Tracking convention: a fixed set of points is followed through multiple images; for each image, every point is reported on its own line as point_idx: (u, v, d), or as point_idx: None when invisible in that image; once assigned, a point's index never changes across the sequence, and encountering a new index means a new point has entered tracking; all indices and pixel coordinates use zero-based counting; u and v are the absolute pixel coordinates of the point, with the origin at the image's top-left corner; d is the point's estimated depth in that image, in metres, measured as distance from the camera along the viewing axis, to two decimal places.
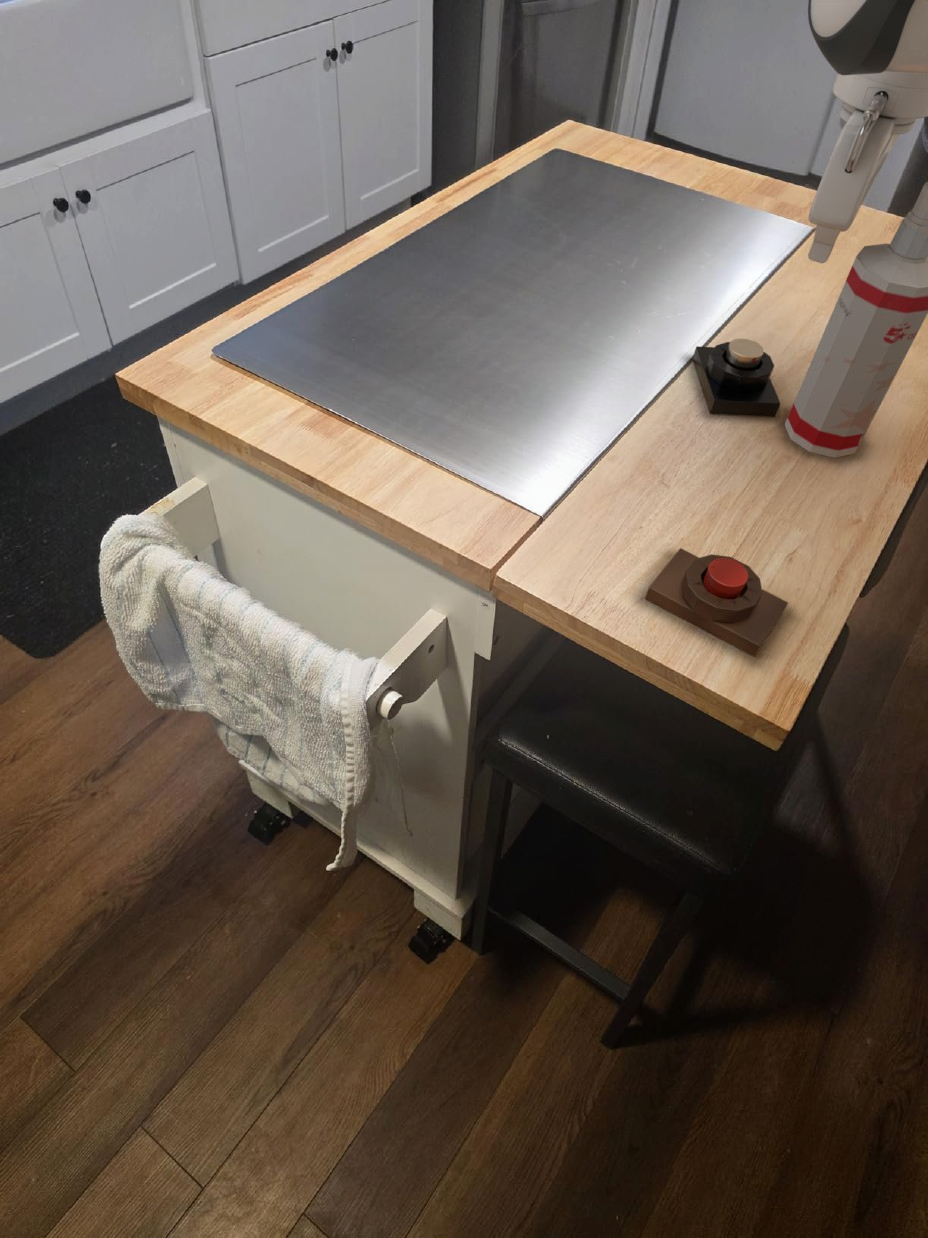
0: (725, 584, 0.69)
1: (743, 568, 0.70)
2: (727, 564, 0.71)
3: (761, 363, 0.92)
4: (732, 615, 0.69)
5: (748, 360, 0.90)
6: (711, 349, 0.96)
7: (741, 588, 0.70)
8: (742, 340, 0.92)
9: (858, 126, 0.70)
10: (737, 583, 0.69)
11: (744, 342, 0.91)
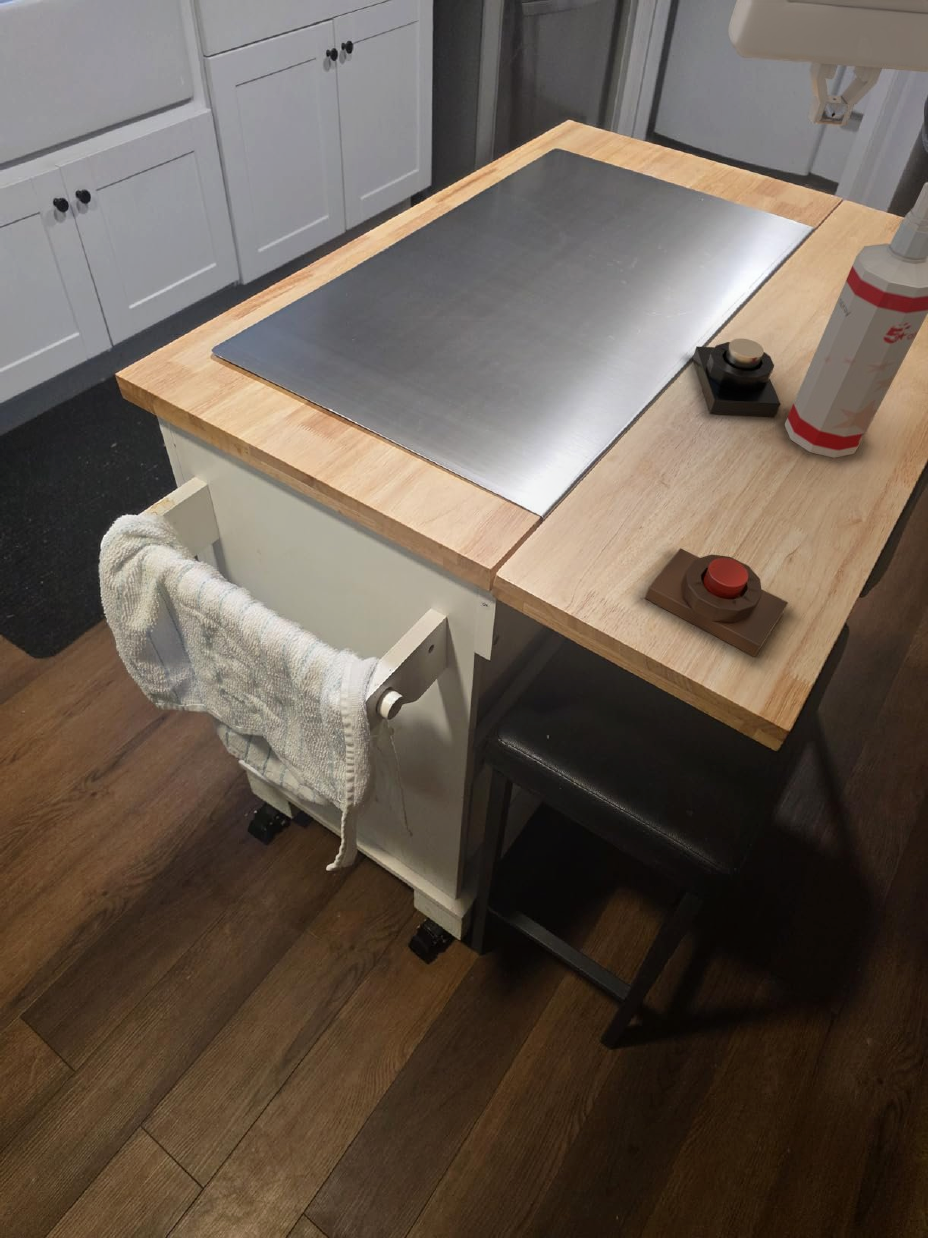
0: (725, 584, 0.69)
1: (743, 568, 0.70)
2: (727, 564, 0.71)
3: (761, 363, 0.92)
4: (732, 615, 0.69)
5: (748, 360, 0.90)
6: (711, 349, 0.96)
7: (741, 588, 0.70)
8: (742, 340, 0.92)
9: None
10: (737, 583, 0.69)
11: (744, 342, 0.91)
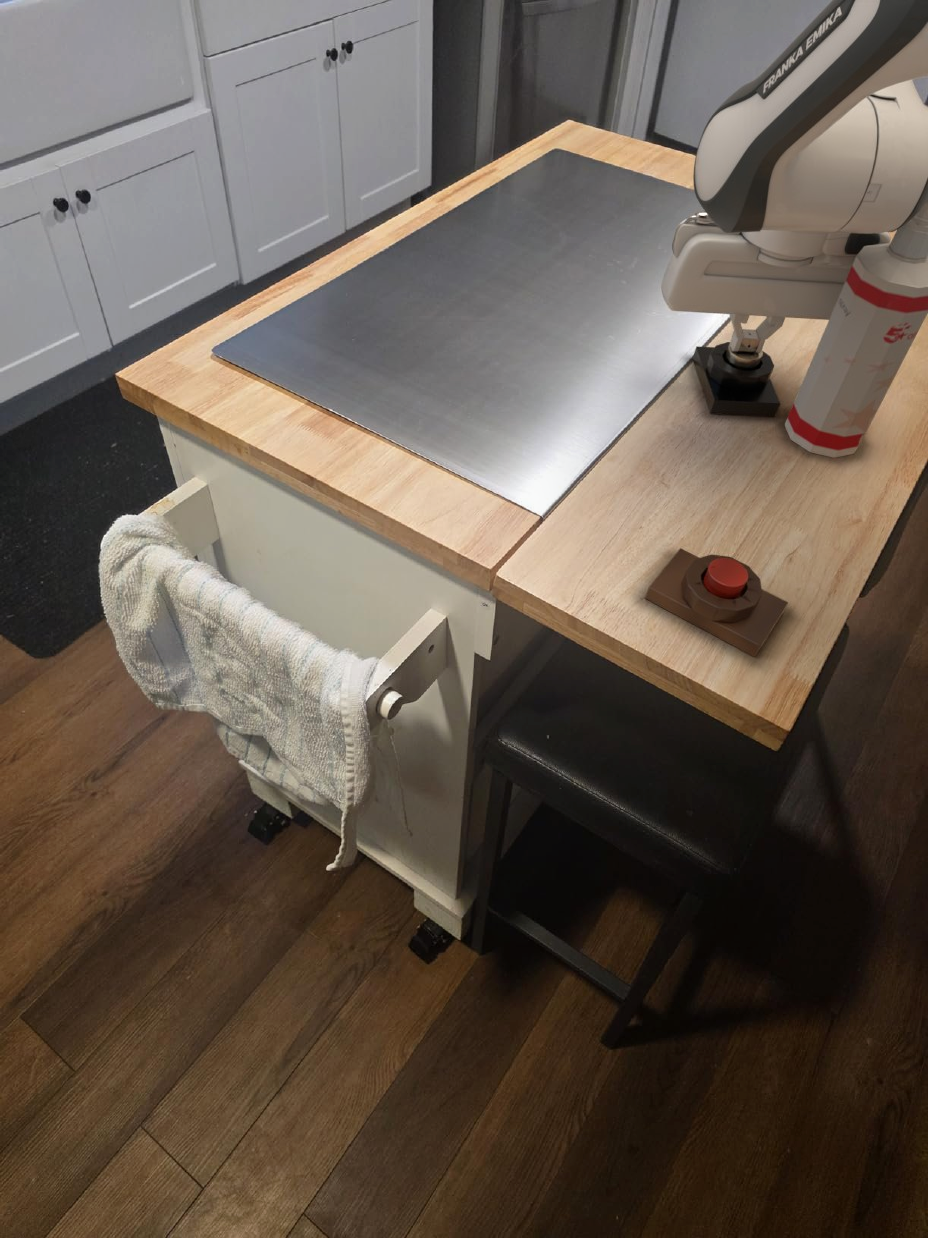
0: (725, 584, 0.69)
1: (743, 568, 0.70)
2: (727, 564, 0.71)
3: (761, 363, 0.92)
4: (732, 615, 0.69)
5: (748, 362, 0.90)
6: (711, 349, 0.96)
7: (741, 588, 0.70)
8: None
9: None
10: (737, 583, 0.69)
11: None
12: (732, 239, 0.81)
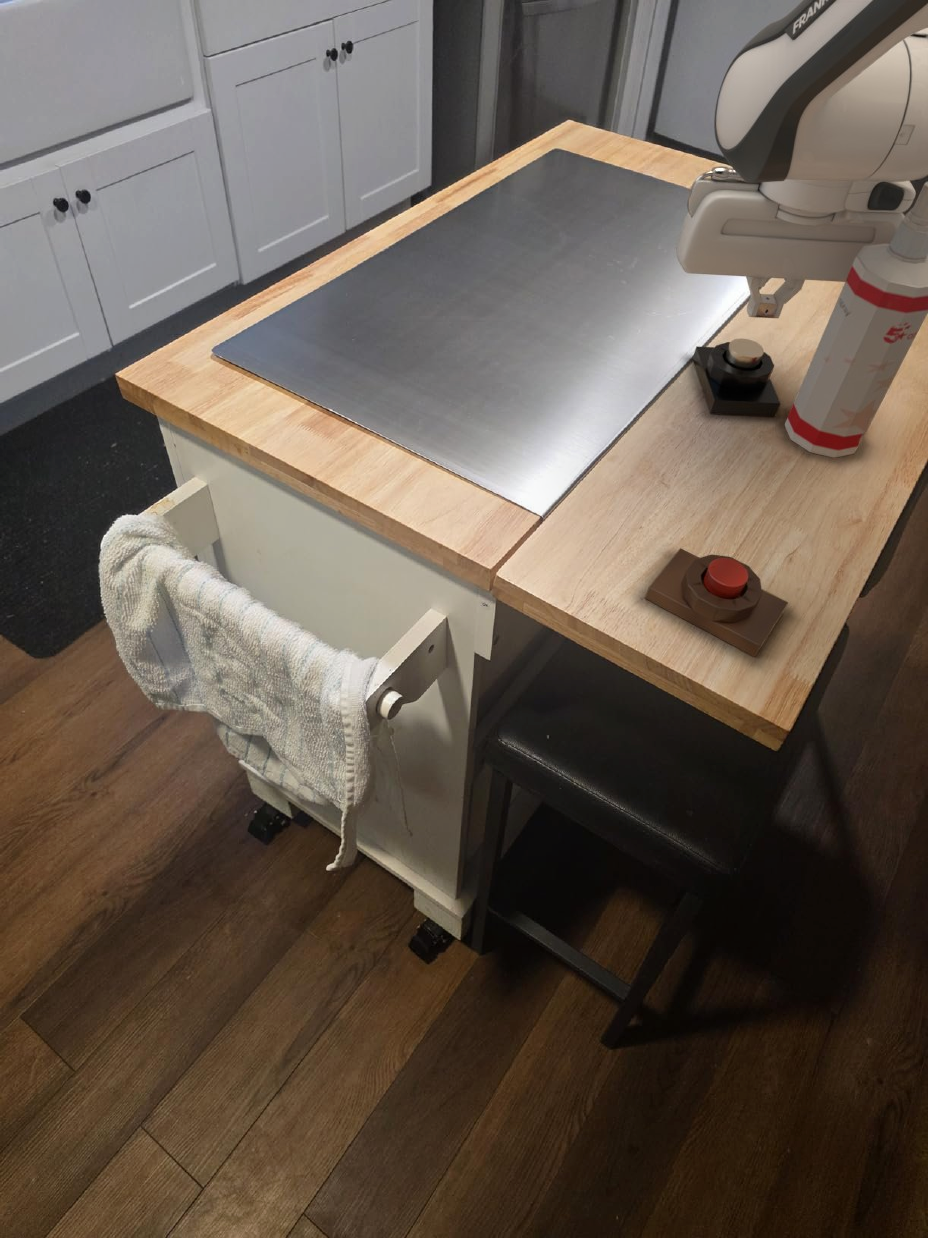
0: (725, 584, 0.69)
1: (743, 568, 0.70)
2: (727, 564, 0.71)
3: (761, 363, 0.92)
4: (732, 615, 0.69)
5: (748, 360, 0.90)
6: (711, 349, 0.96)
7: (741, 588, 0.70)
8: (742, 340, 0.92)
9: None
10: (737, 583, 0.69)
11: (744, 342, 0.91)
12: (750, 196, 0.78)
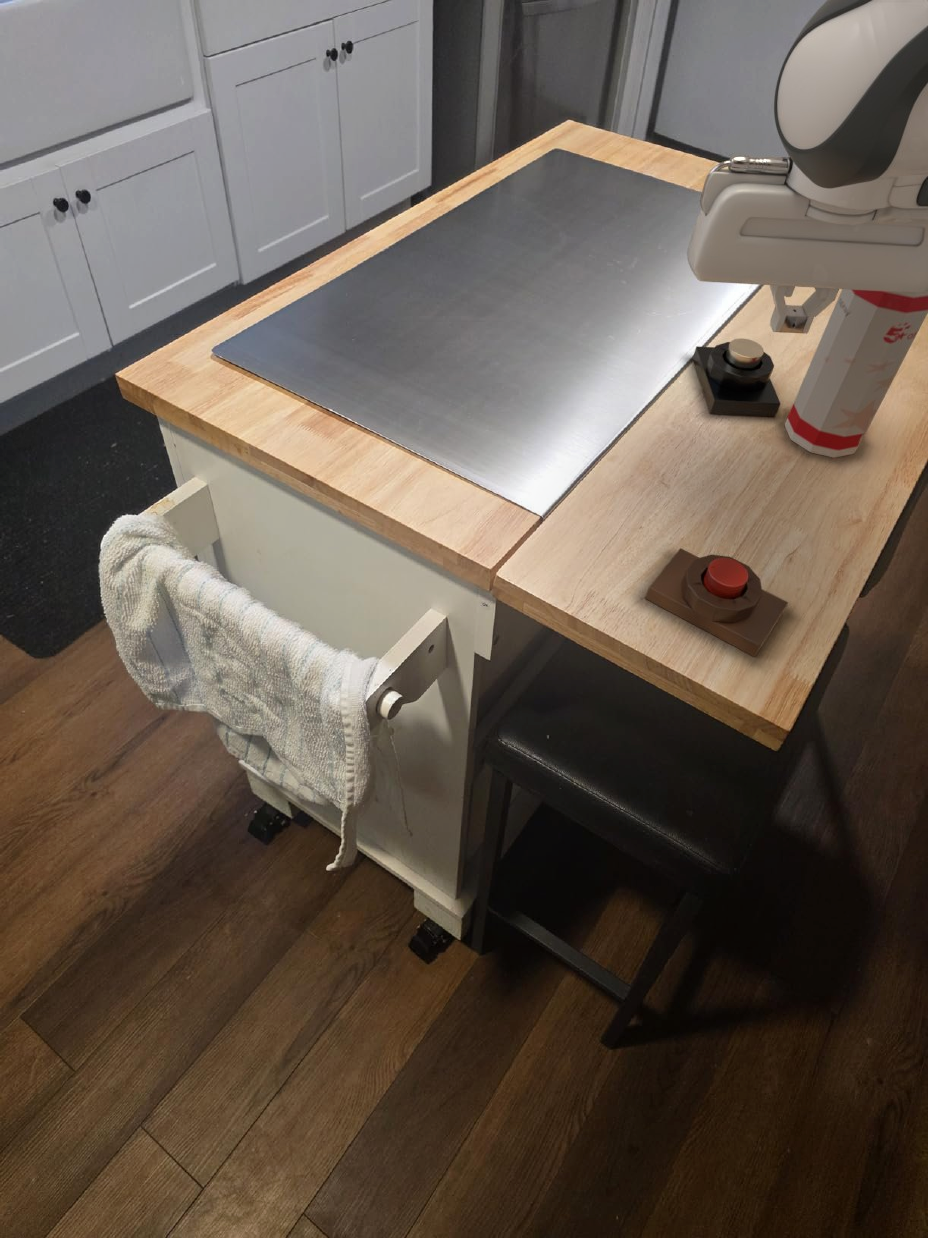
0: (725, 584, 0.69)
1: (743, 568, 0.70)
2: (727, 564, 0.71)
3: (761, 363, 0.92)
4: (732, 615, 0.69)
5: (748, 360, 0.90)
6: (711, 349, 0.96)
7: (741, 588, 0.70)
8: (742, 340, 0.92)
9: None
10: (737, 583, 0.69)
11: (744, 342, 0.91)
12: (775, 190, 0.65)
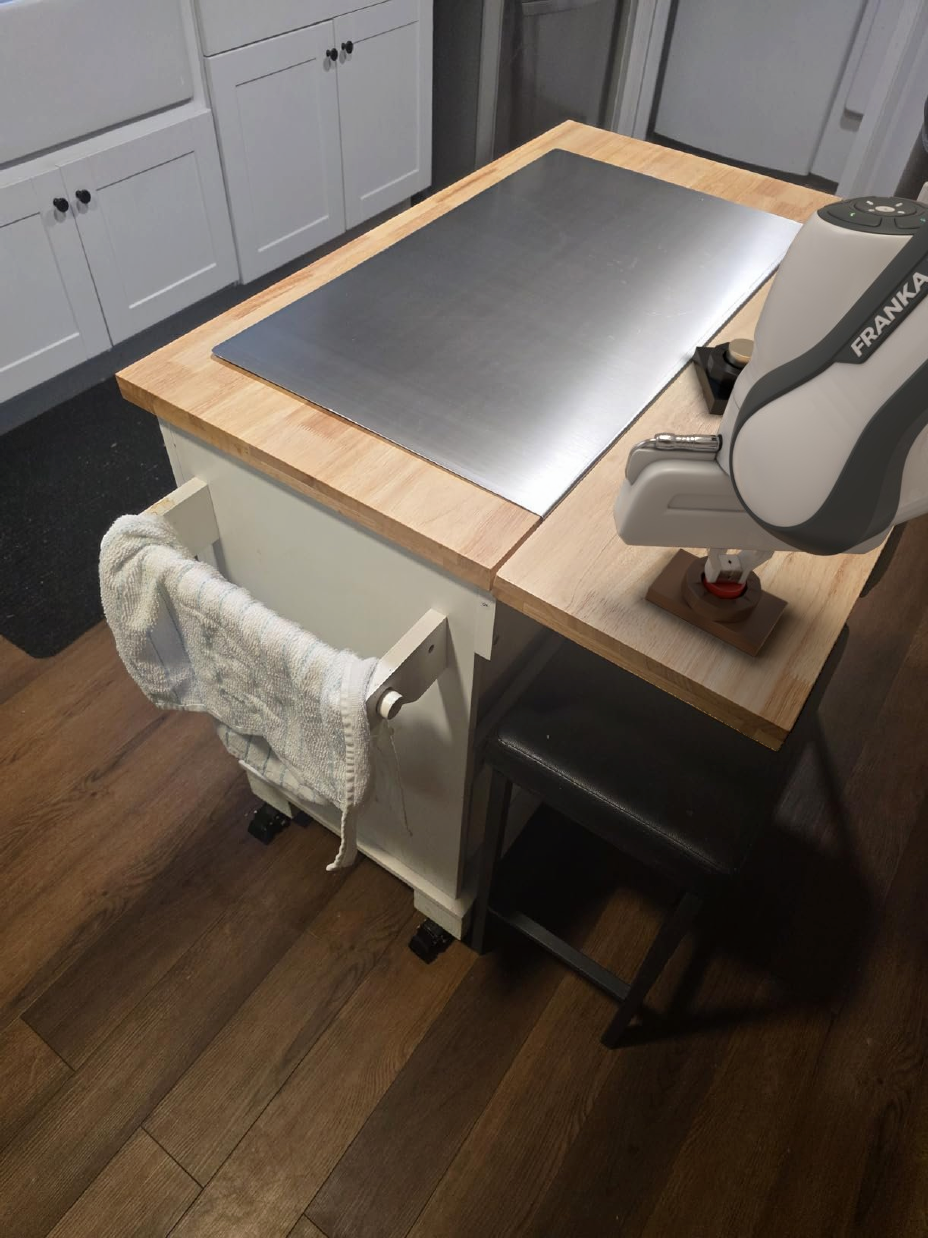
0: (723, 589, 0.70)
1: None
2: None
3: None
4: (732, 615, 0.69)
5: (748, 360, 0.90)
6: (711, 349, 0.96)
7: (739, 593, 0.70)
8: (742, 340, 0.92)
9: None
10: (735, 587, 0.70)
11: (744, 342, 0.91)
12: (704, 469, 0.60)
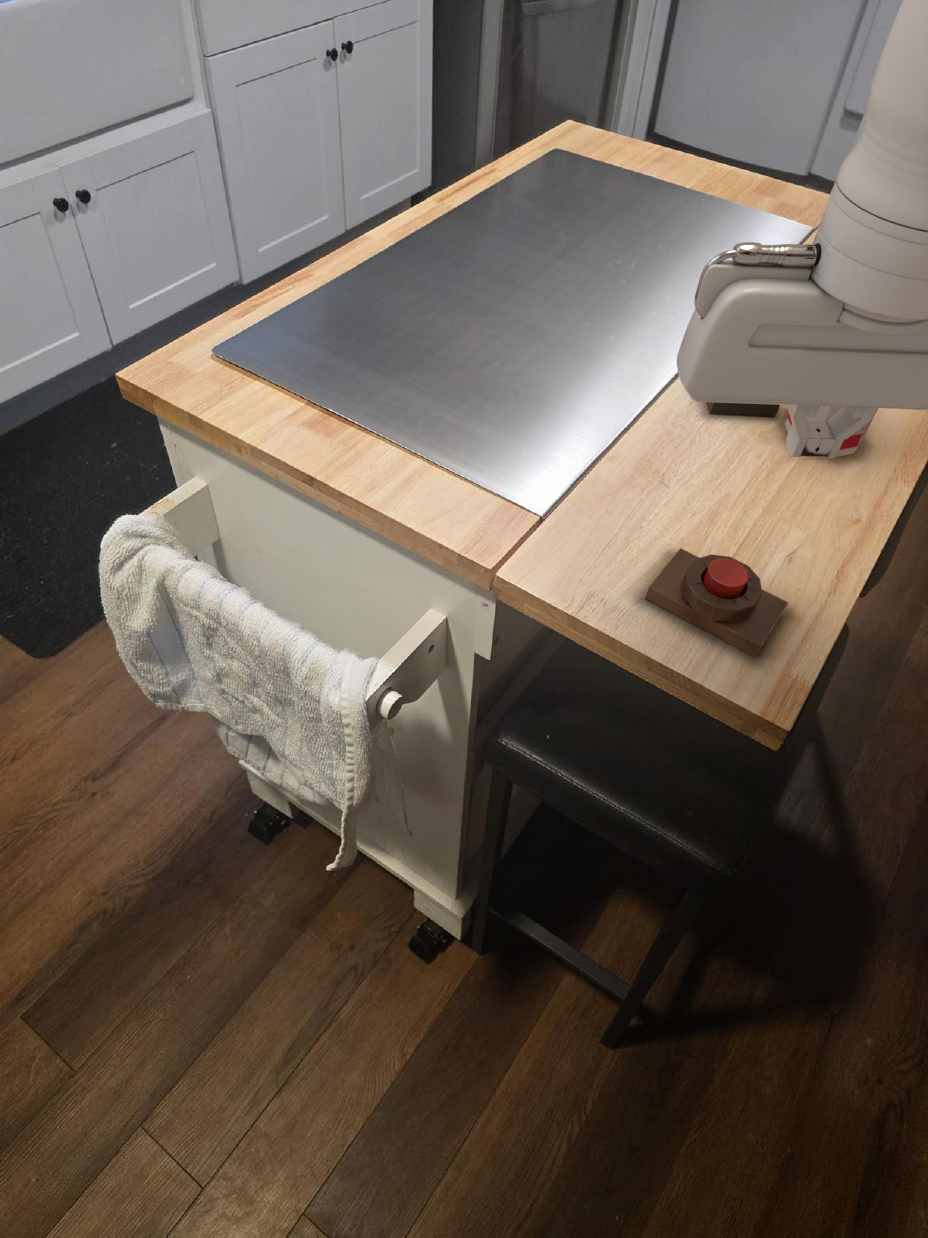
0: (725, 584, 0.69)
1: (743, 568, 0.70)
2: (727, 564, 0.71)
3: None
4: (732, 615, 0.69)
5: None
6: None
7: (741, 588, 0.70)
8: None
9: None
10: (737, 583, 0.69)
11: None
12: (797, 289, 0.48)
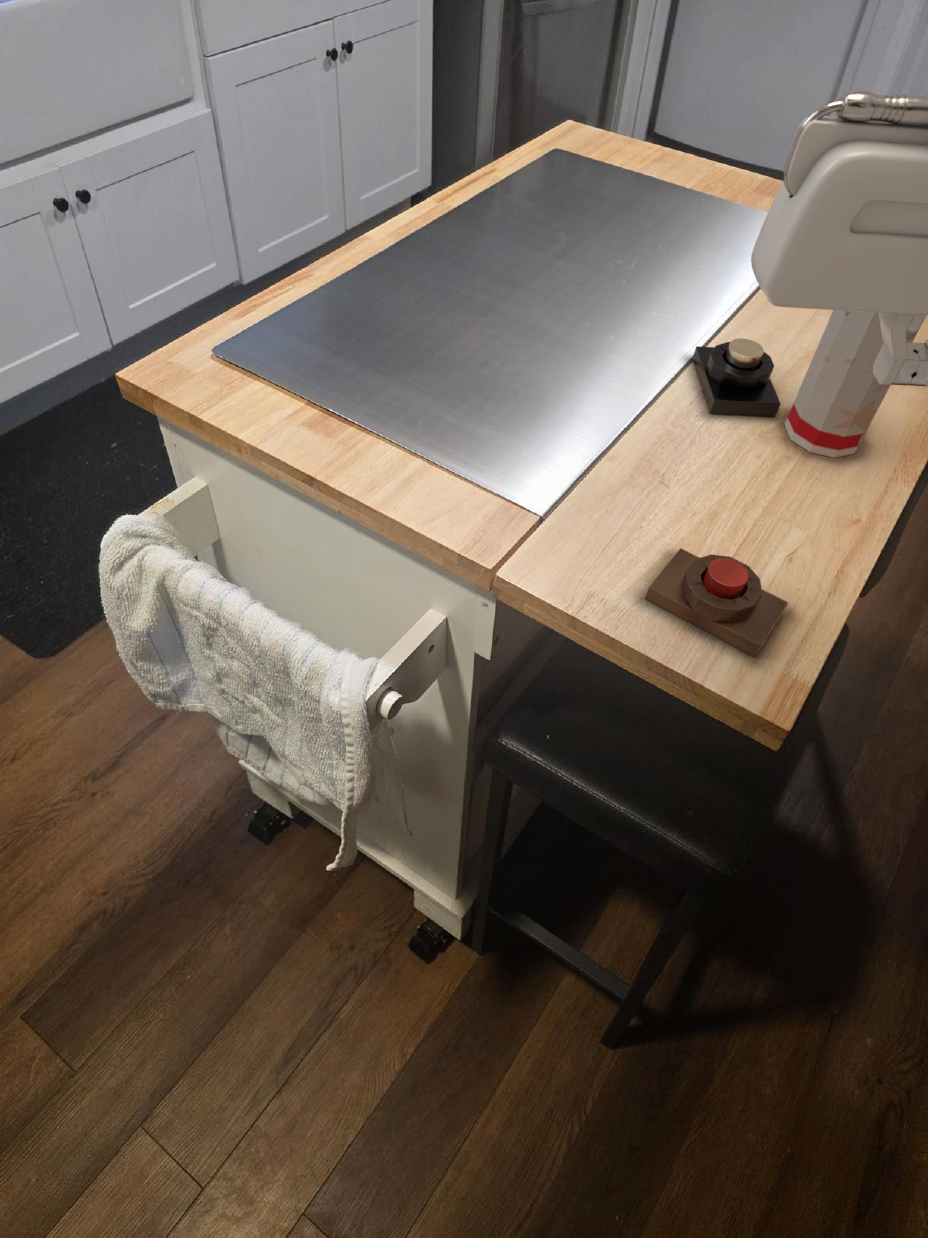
0: (725, 584, 0.69)
1: (743, 568, 0.70)
2: (727, 564, 0.71)
3: (761, 363, 0.92)
4: (732, 615, 0.69)
5: (748, 360, 0.90)
6: (711, 349, 0.96)
7: (741, 588, 0.70)
8: (742, 340, 0.92)
9: None
10: (737, 583, 0.69)
11: (744, 342, 0.91)
12: (917, 153, 0.38)
